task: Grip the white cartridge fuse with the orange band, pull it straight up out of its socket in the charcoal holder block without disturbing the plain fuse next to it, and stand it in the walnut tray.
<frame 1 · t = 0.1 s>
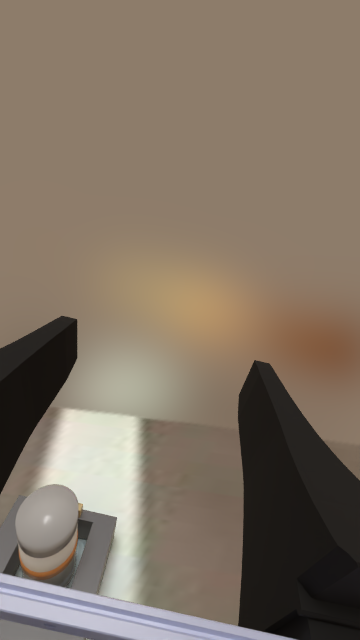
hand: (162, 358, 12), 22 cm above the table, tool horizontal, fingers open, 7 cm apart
marked fuse: (50, 568, 22), resting in fuse holder
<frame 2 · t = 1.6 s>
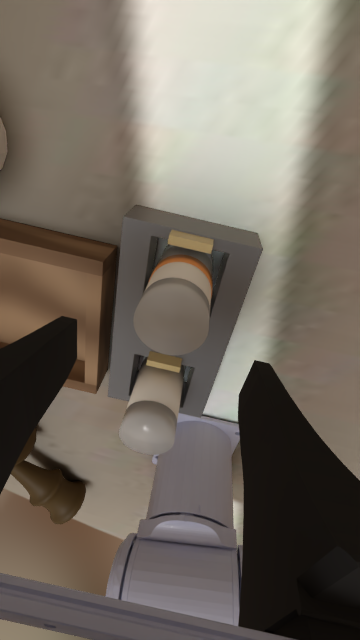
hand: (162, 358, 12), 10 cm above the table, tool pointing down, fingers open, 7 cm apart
tray: (39, 299, 24), on the table
plain fuse: (166, 357, 26), resting in fuse holder
kendama: (27, 440, 36), on the table
fuse holder: (175, 315, 23), on the table
marked fuse: (187, 261, 21), resting in fuse holder
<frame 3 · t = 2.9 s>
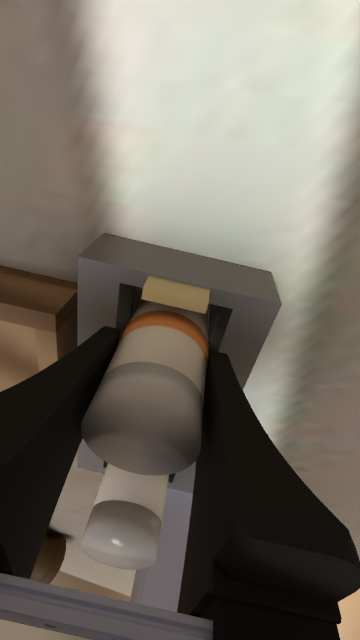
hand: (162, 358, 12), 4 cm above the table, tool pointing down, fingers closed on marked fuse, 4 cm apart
plain fuse: (151, 415, 20), resting in fuse holder
fuse holder: (162, 368, 18), on the table
marked fuse: (175, 306, 15), resting in fuse holder, touching gripper
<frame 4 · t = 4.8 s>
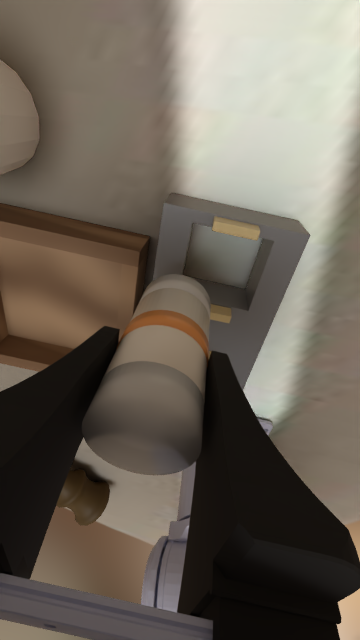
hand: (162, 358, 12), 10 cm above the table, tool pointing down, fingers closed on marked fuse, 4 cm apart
tray: (66, 293, 23), on the table
kendama: (49, 441, 36), on the table
fuse holder: (206, 308, 22), on the table
marked fuse: (176, 305, 15), point 6 cm above the table, touching gripper
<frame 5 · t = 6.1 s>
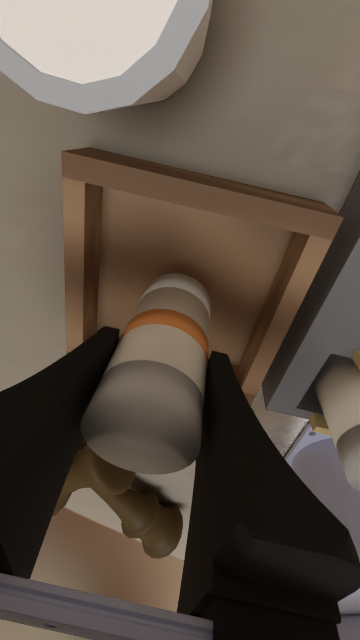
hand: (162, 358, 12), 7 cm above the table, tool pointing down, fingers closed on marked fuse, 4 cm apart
tray: (182, 281, 18), on the table
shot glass: (141, 20, 12), on the table
plain fuse: (333, 358, 20), resting in fuse holder
kendama: (115, 459, 30), on the table
marked fuse: (176, 305, 15), point 3 cm above the table, touching gripper
when the fingers open (6 cm above the table, at t = 6.8 s): marked fuse stays where it is, resting on tray.
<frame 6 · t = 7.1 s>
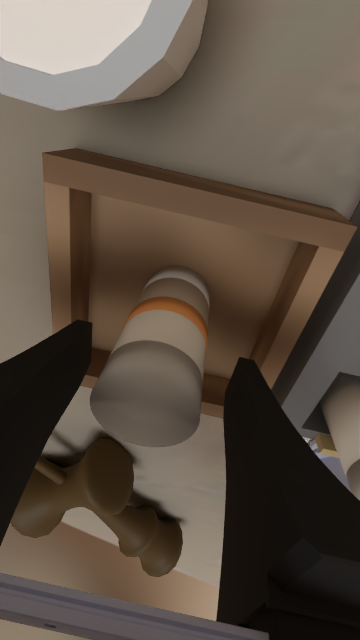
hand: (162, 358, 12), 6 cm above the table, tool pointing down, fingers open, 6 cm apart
tray: (179, 292, 17), on the table
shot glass: (131, 6, 11), on the table
plain fuse: (341, 373, 18), resting in fuse holder
kendama: (111, 473, 29), on the table
marked fuse: (177, 296, 16), point 1 cm above the table, touching tray
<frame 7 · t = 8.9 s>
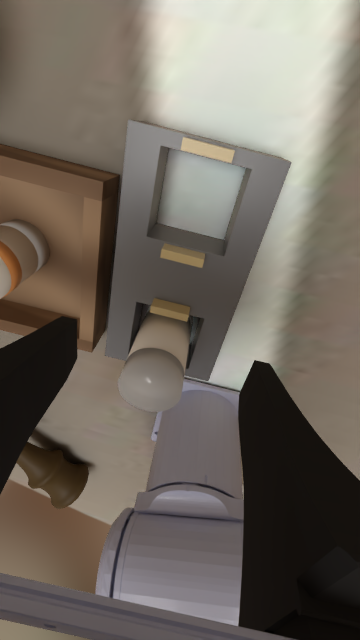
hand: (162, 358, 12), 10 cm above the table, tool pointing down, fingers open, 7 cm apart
tray: (30, 243, 21), on the table
plain fuse: (170, 314, 23), resting in fuse holder
kendama: (24, 419, 33), on the table
fuse holder: (182, 262, 21), on the table
marked fuse: (24, 245, 21), point 1 cm above the table, touching tray
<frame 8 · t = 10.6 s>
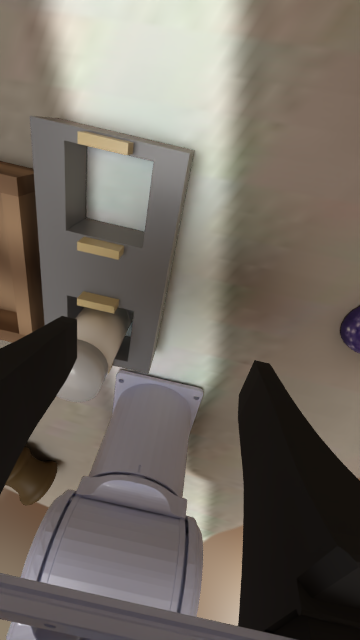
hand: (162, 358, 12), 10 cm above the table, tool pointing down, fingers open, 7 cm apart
plain fuse: (112, 309, 23), resting in fuse holder
fuse holder: (116, 256, 21), on the table
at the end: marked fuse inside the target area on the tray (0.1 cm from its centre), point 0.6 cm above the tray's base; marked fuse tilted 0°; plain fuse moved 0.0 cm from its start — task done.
